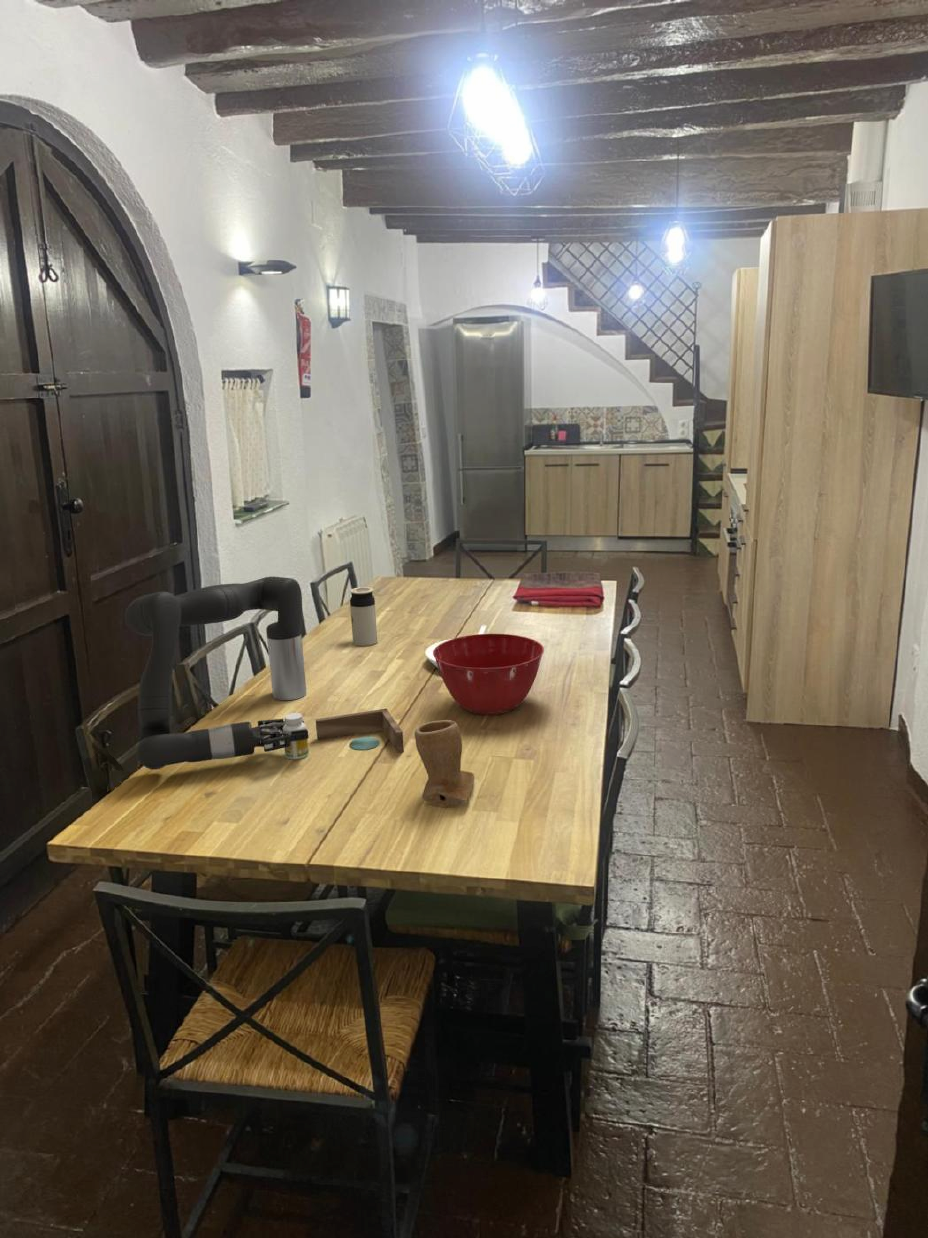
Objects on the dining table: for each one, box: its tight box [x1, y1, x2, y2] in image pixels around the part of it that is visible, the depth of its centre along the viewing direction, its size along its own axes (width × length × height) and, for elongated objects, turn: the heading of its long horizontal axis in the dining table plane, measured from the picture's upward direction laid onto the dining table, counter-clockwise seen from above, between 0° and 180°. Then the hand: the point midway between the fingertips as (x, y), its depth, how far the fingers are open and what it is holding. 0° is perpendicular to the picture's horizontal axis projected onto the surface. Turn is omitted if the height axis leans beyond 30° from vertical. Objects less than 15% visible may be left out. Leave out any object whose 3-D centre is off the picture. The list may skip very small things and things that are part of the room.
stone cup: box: [414, 719, 475, 808], centre depth 184 cm, size 15×12×15 cm
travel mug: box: [349, 586, 378, 647], centre depth 290 cm, size 8×8×18 cm
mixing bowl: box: [433, 633, 545, 715], centre depth 232 cm, size 28×28×15 cm
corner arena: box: [315, 708, 405, 754], centre depth 211 cm, size 16×18×5 cm
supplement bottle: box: [283, 712, 309, 760], centre depth 206 cm, size 5×5×10 cm
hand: (305, 729), depth 207 cm, fingers closed on supplement bottle, 5 cm apart
